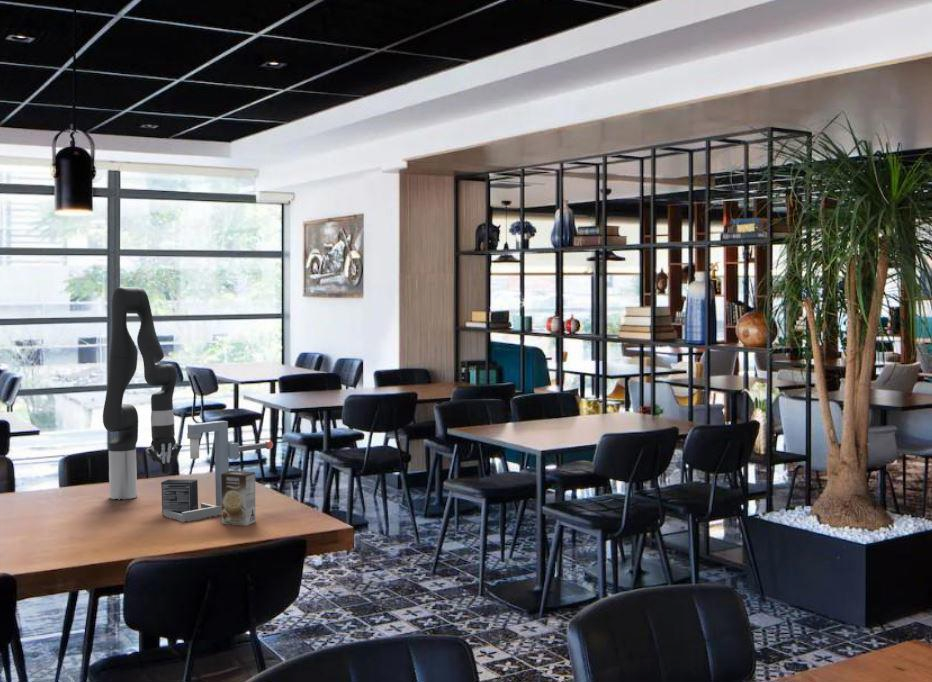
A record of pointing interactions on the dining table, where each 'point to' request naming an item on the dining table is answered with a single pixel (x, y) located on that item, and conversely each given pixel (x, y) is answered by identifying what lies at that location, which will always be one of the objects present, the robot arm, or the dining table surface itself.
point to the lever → (255, 446)
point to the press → (220, 465)
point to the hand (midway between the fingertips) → (164, 473)
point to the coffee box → (238, 497)
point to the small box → (179, 495)
